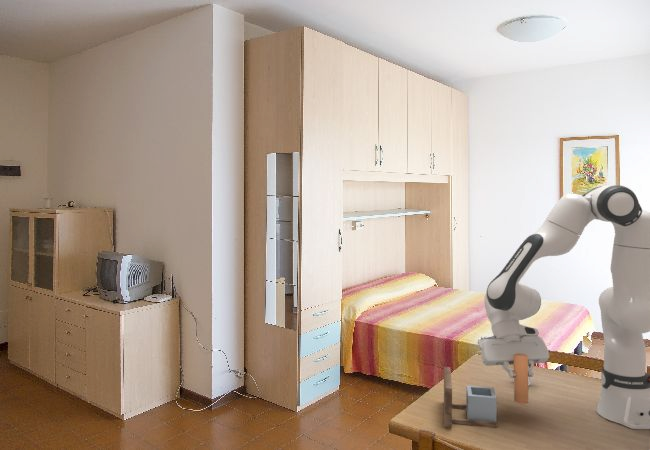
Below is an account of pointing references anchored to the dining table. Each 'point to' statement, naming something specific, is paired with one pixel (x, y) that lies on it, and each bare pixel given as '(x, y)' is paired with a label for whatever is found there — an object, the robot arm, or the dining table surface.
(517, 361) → the dowel
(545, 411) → the dining table surface
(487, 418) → the socket block
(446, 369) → the backstop wall
